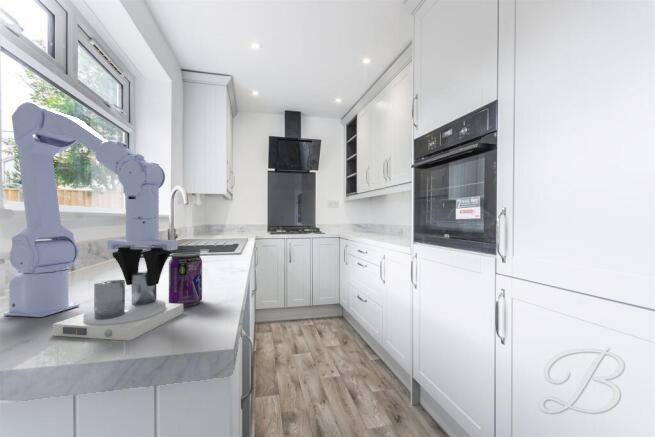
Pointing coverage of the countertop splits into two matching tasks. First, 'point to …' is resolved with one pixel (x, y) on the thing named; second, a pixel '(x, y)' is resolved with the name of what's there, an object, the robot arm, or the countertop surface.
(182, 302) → the beverage can
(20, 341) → the countertop surface
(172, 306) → the kitchen scale
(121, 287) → the steel spacer
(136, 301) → the steel spacer
